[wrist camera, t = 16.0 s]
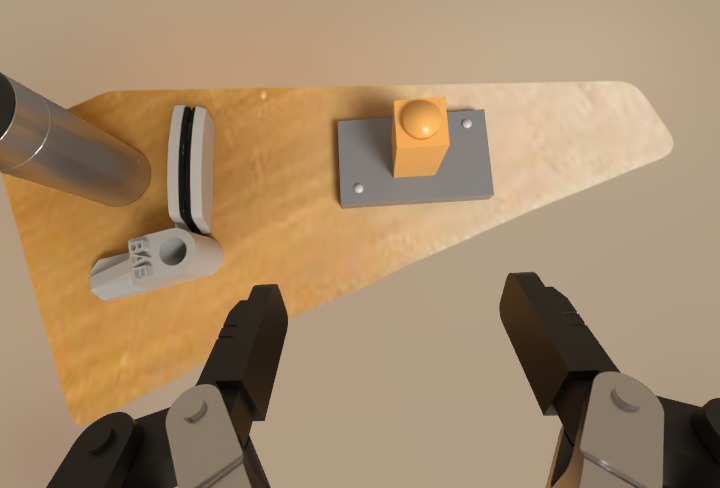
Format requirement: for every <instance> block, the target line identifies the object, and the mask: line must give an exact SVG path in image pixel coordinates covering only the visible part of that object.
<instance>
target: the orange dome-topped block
mask: <svg viewBox="0 0 720 488" xmlns="http://www.w3.org/2000/svg"><path fill="white" fill-rule="evenodd" d="M391 144H392V160H393V176H394V178H400V177H416V176H431V175H436V172H437V170H438V168H439V166H440V164H441V162H442V160H443V158H444V156H445V154H446V151H447V149H448V147H449V145H450V142H449V131H448V120H447V109H446V98H445V96H444V97H432V98H419V99H407V100H394V106H393V121H392V136H391Z"/></svg>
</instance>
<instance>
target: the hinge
mask: <svg viewBox="0 0 720 488" xmlns="http://www.w3.org/2000/svg"><path fill="white" fill-rule="evenodd" d="M214 143H215V126H214V123H213V121H212V119H211V117H210V115H209V112H208V110H207V109H206V108H202V107H199V106H196V108H193V109H192V110H191V109H190V107H187V106H186V105H185V104H184V105H175V106H174V109H173V114H172V119H171V126H170V134H169V144H168V163H167V192H168V211H169V215H170V217H171V218H172V220H173V221H174V222H175V226H174V228H179V229H183V230H186V231H189V232H195V229H196V228H197V230H198V231H199V232H201V233H202V234H203V235H204V234H209V233H212V203H213V173H214Z"/></svg>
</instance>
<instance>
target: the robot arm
mask: <svg viewBox="0 0 720 488" xmlns="http://www.w3.org/2000/svg"><path fill="white" fill-rule="evenodd" d="M0 172H2V173H5V174H9V175H12V176H15V177H18V178H22V179H25V180H28V181H31V182H35V183H38V184H41V185H44V186H47V187H51V188H54V189H57V190H60V191H64V192H67V193H70V194H73V195H77V196H80V197H83V198H86V199H89V200H92V201H96V202H99V203H102V204H105V205H109V206H114V207H118V206H125V205H128V204H130V203H132V202H134V201H135V200H137V199H138V198H139V197H140V196H141V195H142V194H143V193H144V191H145V189H146V188H147V185H148V183H149V179H150V167H149V163H148V161H147V159H146V158H145V157H144V155H143V154H142V153H140V152H139V151H137V150H136V149H134V148H132V147H130V146H129V145H127V144H125V143H123V142H121V141H120V140H118V139H116V138H115V137H113V136H111V135H109V134H108V133H106V132H104V131H102V130H101V129H99V128H97V127H95V126H94V125H92V124H90V123H88V122H87V121H85V120H83V119H81V118H80V117H78V116H76V115H74V114H73V113H71V112H69V111H67V110H66V109H64V108H62V107H60V106H58V105H57V104H55V103H53V102H51V101H50V100H48V99H46V98H44V97H42V96H41V95H39V94H37V93H35V92H33V91H32V90H30V89H28V88H26V87H25V86H23V85H21V84H20V83H18V82H16V81H14V80H13V79H10V78H9V77H7V76H6V75H4V74H2V73H0ZM576 312H577V311H576V310H575V308H574V307H573V306H572V304H571V303H570V301H569V300H568V298H567V297H565V296H564V295H563V294H561V293H560V292H559V291H557V290H556V289H554V288H553V287H545V286H544V284H543V283H542V282H541V280H540V278H539V277H538V275H537V274H536V273H534V272H522V273H509V274H508V276H507V279H506V283H505V287H504V290H503V294H502V297H501V301H500V317H501V320H502V323H503V325H504V327H505V329H506V332H507V334H508V336H509V338H510V341H511V343H512V345H513V347H514V350H515V352H516V354H517V356H518V359H519V361H520V363H521V365H522V367H523V370H524V372H525V374H526V377H527V379H528V381H529V383H530V386H531V388H532V390H533V392H534V395H535V397H536V399H537V401H538V404H539V406H540V408H541V410H542V413H543V415H546V416H548V415H549V416H550V415H558V416H559V418H560V420H561V422H562V424H563V426H562V427H561V430H560V434H559V437H558V442H557V445H556V449H555V453H554V457H553V461H552V465H551V469H550V473H549V476H548V480H547V484H546V488H720V398H715V399H712V400H710V401H708V402H707V403H706V404H705V405H704V406H703V407H698V406H695V405H691V404H687V403H682V402H679V401H675V400H670V399H666V398H663V397H659V396H656V395H655V394H654V393H653V392H652V391H651V390H650V389H649V388H648V387H647V386H645V385H644V384H643V383H641V382H640V381H638V380H636V379H634V378H632V377H630V376H627V375H625V374H622V373H621V372H620V371H619V370H618V369H617V367H616V366H615V365H614V364H613V362H612V361H611V359H610V358H609V356H608V355H607V354H606V352H605V351H604V349H603V348H602V346H601V345H600V344H599V342H598V341H597V340H596V338H595V337H594V335H593V334H592V332H591V331H590V329H589V328H588V327H587V326H586V325H585V324H584V321H583V320H582V318H581V317H580V315H579V314H577V313H576ZM223 326H224V327H223V328H222V329H221V332H220V334H219V336H218V337H219V338H218V339H217V340H216V343H215V345H214V347H213V349H212V351H211V354H210V356H209V358H208V360H207V362H206V365H205V367H204V369H203V371H202V373H201V376H200V378H199V380H198V382H197V384H196V385H195V387H192V388H190V389H189V390H187V391H185V392H184V393H183V394H181V395H180V396H179V397H178V398H177V399H176V400H175V402H174V403H173V404H172V406H171V407H169V408H167V409H164V410H161V411H159V412H155V413H153V414H150V415H147V416H144V417H141V418H138V419H135V420H134V419H133V418H132V417H131V416H130V415H128V414H126V413H123V412H116V413H111V414H108V415H106V416H104V417H102V418H100V419H98V420H97V421H95V422H94V423H92V424H91V425H90V426H89V427H88V428H86V429H85V430H84V431H83V432H82V434H81V435H80V436H79V437H78V438H77V440H76V441H75V443H74V444H73V446H72V447H71V449H70V451H69V452H68V454H67V455H66V457H65V459H64V460H63V462H62V463H61V465H60V467H59V468H58V470H57V472H56V473H55V475H54V476H53V478H52V479H51V481H50V482H49V484H48V486H47V487H46V488H174V487H176V486H178V488H271V487H270V485H269V482H268V480H267V477H266V475H265V472H264V470H263V467H262V465H261V463H260V460H259V458H258V455H257V453H256V450H255V448H254V446H253V443H252V441H251V438H250V436H249V433H250V429H251V426H252V422H253V421H265V417H266V413H267V409H268V405H269V401H270V397H271V392H272V389H273V384H274V380H275V376H276V372H277V368H278V364H279V360H280V356H281V352H282V348H283V344H284V340H285V336H286V332H287V327H288V315H287V311H286V308H285V305H284V302H283V299H282V296H281V293H280V290H279V287H278V285H277V284H267V285H255V286H254V287H253V289H252V291H251V293H250V296H249V298H248V300H242V301H239V302H238V304H237V305H236V306H235V307H234V308H233V309H232V310H231V311H230V312H229V314H228V316H227V318H226V321H225V323H224V325H223Z"/></svg>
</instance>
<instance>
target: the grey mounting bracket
mask: <svg viewBox="0 0 720 488" xmlns="http://www.w3.org/2000/svg"><path fill="white" fill-rule="evenodd" d="M128 248H129V252H128V253H124V254H120V255H116V256H112V257H108V258H104V259H101V260H98V262H97V263H96V265H95V266H94V267H93V269H92V270H91V272H90V277H89V280H90V289H91V290H92V293H93V294H95V295H96V296H97V297H99V298H100V299H101V300H103V301H107V300H117V299H121V298H125V297H129V296H133V295H137V294H141V293H145V292H149V291H153V290H157V289H161V288H165V287H169V286H173V285H176V284H180V283H184V282H188V281H192V280H196V279H200V278H204V277H208V276H211V275H213V274H214V273H216V272H217V271H218V270H219V268H220V267H221V265H222V262H223V257H224V254H223V249H222V247H221V245H220V244H219V243H218V242H217V241H216V240H214V239H212V238H209V237H206V236H203V235H199V234H196V233H193V232H189V231H186V230H183V229H179V228H171V229H167V230H163V231H159V232H156V233H152V234H148V235H144V236H140V237H136V238H132V239H130V240H128Z"/></svg>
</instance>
